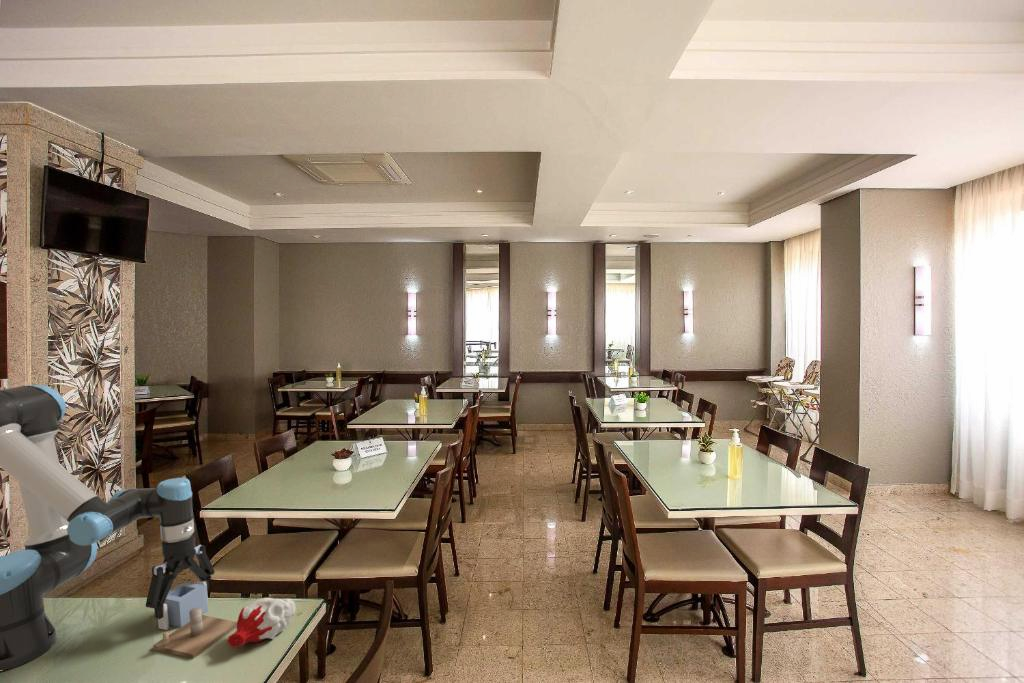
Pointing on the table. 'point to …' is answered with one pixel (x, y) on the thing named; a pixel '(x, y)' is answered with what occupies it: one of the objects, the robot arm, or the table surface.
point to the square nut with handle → (185, 602)
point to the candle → (262, 620)
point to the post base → (199, 641)
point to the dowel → (165, 639)
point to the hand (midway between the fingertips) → (184, 615)
